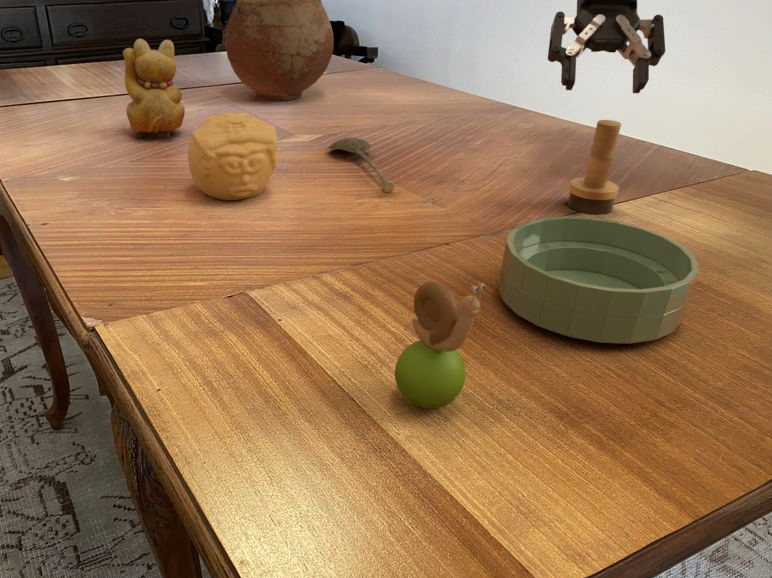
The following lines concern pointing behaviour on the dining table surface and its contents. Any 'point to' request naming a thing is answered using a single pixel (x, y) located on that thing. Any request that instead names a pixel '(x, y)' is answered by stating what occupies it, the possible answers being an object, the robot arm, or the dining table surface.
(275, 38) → the jug
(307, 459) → the dining table surface
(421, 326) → the snail figurine
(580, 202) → the dish brush
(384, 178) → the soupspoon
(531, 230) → the bowl
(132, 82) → the decorative figurine
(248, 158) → the sculpture
